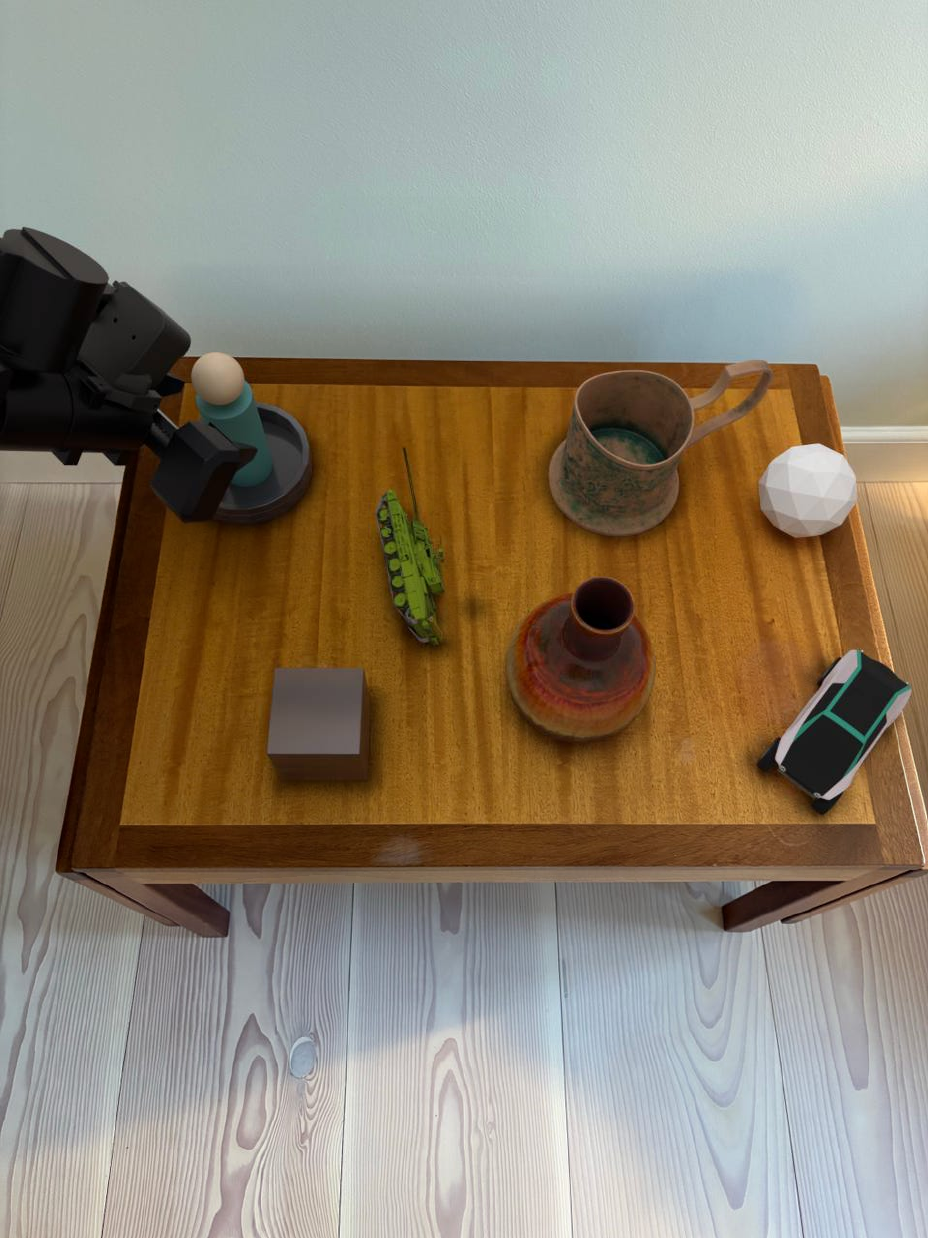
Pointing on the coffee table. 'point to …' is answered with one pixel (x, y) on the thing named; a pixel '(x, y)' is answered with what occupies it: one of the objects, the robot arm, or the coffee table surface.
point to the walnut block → (320, 724)
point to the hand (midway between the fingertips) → (217, 419)
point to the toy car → (838, 727)
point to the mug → (635, 446)
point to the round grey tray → (272, 473)
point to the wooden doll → (232, 411)
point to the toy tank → (411, 565)
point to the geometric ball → (807, 490)
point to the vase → (581, 663)
